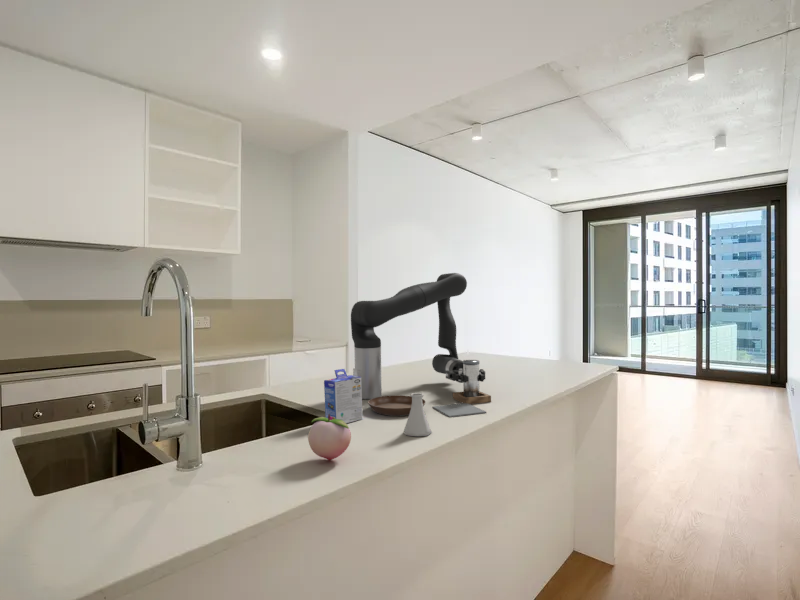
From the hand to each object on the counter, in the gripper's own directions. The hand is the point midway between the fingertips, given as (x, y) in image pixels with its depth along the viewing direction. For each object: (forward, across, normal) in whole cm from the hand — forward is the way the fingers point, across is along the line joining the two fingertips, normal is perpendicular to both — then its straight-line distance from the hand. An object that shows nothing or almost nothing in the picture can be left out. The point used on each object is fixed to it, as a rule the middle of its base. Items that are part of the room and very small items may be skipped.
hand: (474, 378), depth 150 cm
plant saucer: (+4, -26, +8) cm, 28 cm away
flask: (+28, -25, +8) cm, 39 cm away
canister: (-3, 0, +8) cm, 8 cm away
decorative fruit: (+43, -48, +8) cm, 65 cm away
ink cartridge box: (+13, -43, +8) cm, 46 cm away
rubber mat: (+9, -8, +8) cm, 14 cm away
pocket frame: (-3, 0, +8) cm, 8 cm away
